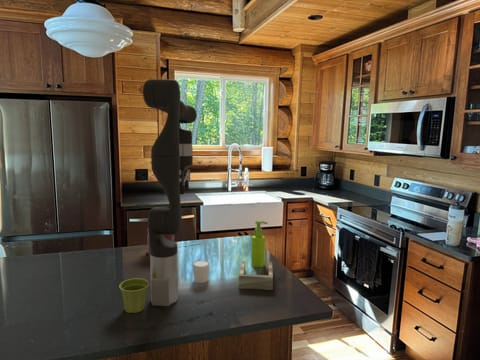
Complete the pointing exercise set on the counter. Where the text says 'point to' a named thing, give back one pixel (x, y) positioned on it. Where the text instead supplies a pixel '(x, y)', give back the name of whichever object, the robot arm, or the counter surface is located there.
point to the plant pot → (134, 294)
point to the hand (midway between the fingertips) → (183, 192)
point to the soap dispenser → (258, 246)
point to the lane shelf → (256, 279)
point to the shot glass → (201, 271)
